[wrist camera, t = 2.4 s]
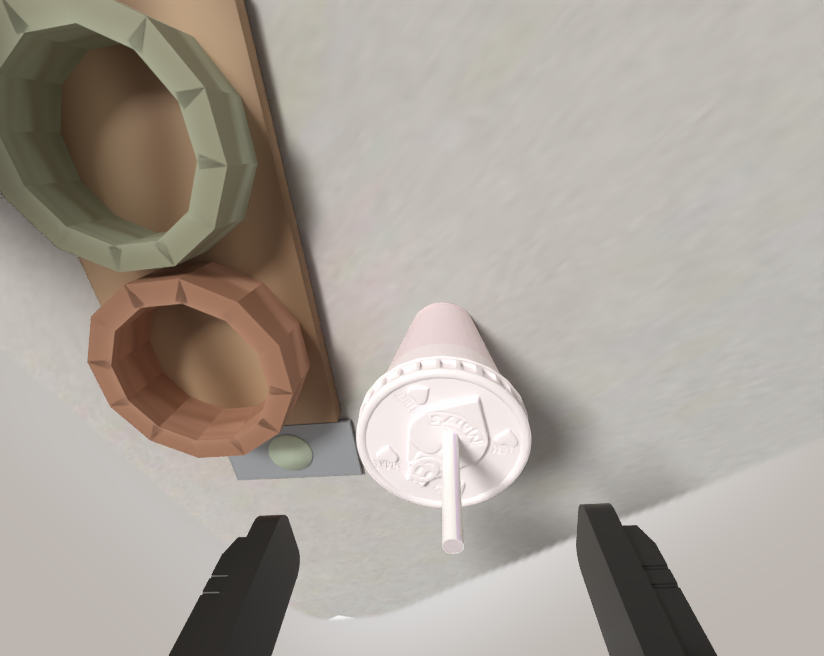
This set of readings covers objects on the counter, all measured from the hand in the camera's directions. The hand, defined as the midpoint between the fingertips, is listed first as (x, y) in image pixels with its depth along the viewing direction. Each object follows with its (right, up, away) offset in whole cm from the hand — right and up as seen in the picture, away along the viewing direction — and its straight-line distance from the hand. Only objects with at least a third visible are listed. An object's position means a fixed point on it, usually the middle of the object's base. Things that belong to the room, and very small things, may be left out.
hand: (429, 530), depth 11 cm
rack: (-12, +10, +11) cm, 19 cm away
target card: (-9, -3, +16) cm, 19 cm away
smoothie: (+1, +5, +12) cm, 14 cm away
